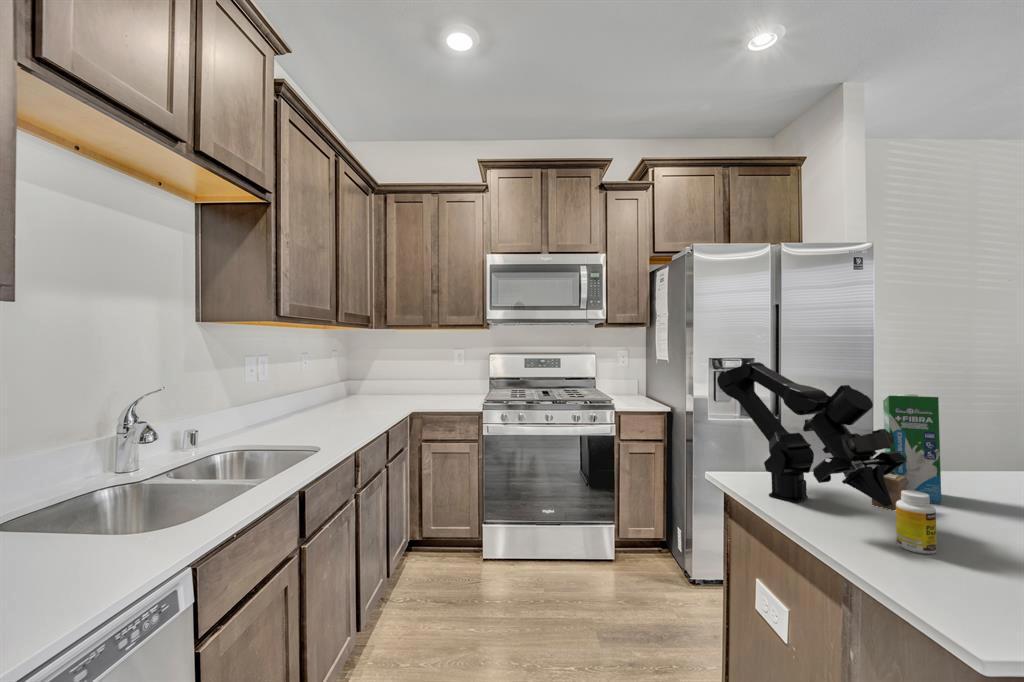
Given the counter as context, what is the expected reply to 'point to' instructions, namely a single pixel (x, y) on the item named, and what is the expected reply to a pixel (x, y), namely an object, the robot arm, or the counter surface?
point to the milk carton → (916, 440)
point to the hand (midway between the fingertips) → (889, 505)
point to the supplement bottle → (916, 522)
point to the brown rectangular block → (893, 489)
